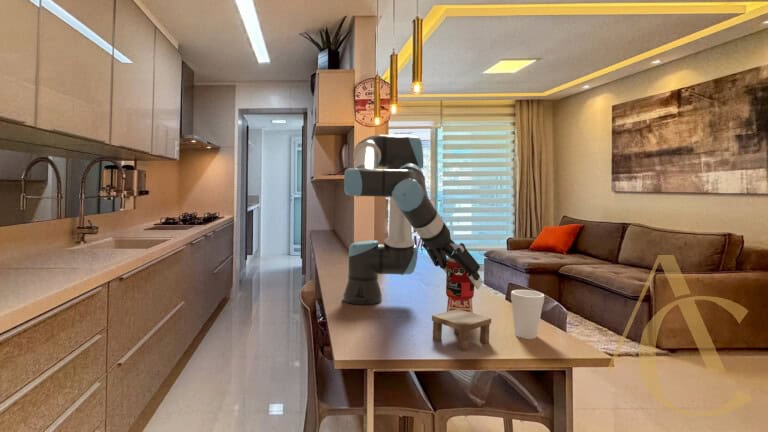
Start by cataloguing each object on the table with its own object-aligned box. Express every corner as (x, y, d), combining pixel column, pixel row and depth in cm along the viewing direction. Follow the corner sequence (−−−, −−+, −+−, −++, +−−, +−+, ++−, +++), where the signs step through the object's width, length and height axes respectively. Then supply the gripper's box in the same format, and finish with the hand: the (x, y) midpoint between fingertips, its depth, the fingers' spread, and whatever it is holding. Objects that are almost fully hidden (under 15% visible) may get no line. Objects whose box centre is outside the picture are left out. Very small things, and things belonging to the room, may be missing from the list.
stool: (431, 339, 121) (432, 315, 120) (457, 331, 128) (458, 308, 128) (464, 351, 112) (465, 326, 111) (490, 342, 119) (491, 318, 119)
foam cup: (506, 329, 131) (508, 289, 130) (535, 330, 131) (537, 290, 130) (514, 340, 122) (516, 296, 121) (546, 341, 121) (548, 297, 121)
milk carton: (473, 322, 138) (475, 263, 137) (445, 320, 140) (447, 261, 139) (472, 315, 147) (475, 259, 146) (446, 312, 148) (448, 257, 147)
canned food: (440, 294, 121) (442, 256, 121) (464, 292, 124) (465, 256, 124) (455, 300, 114) (456, 261, 113) (479, 298, 117) (480, 260, 117)
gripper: (398, 236, 116) (435, 286, 127) (454, 244, 100) (491, 300, 112) (412, 217, 119) (447, 267, 131) (469, 221, 104) (504, 278, 115)
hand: (467, 282), depth 121 cm, fingers closed on canned food, 8 cm apart
